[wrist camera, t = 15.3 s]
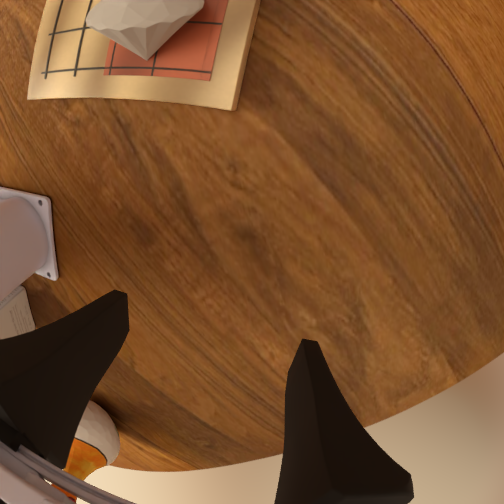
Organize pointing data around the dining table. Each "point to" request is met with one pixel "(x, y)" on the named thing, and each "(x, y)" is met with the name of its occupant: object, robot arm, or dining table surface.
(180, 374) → the dining table surface
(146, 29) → the gemstone
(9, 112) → the dining table surface
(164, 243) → the dining table surface
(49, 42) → the board
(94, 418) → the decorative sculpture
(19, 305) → the product box
